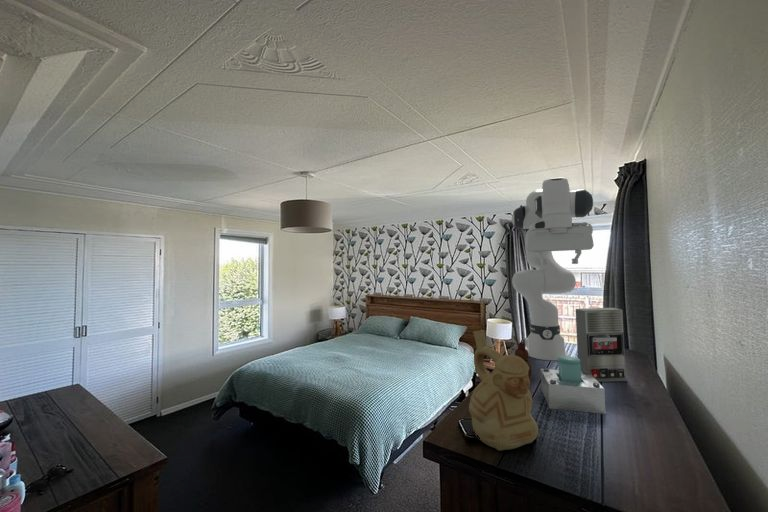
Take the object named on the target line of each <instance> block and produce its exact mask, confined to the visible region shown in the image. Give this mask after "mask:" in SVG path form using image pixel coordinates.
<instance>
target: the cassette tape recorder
mask: <svg viewBox="0 0 768 512" xmlns="http://www.w3.org/2000/svg"><path fill="white" fill-rule="evenodd" d="M575 326H576V331H575V332H576V348H577V349H576V350H577V358H578V359H580V365H581V371H582V370H585V371H588V372H589V373H590V374H591V375H592V376H593V377H594V378H595V379H596V380H597V381H598V382H599V383H602V382H603V383H605V382H607V383H609V382H627V381H629V379H628V377H627V375H626V374H627V373H626V356H625V355H626V354H625V352H626V351H625V337H624V336H625V335H624V334H625V333H624V330H625V329H624V311H623V309H621V308H616V307H596V308H595V307H593V308H592V307H589V308H587V307H586V308H575Z"/></svg>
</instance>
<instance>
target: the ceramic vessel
mask: <svg viewBox="0 0 768 512" xmlns="http://www.w3.org/2000/svg"><path fill="white" fill-rule="evenodd" d="M472 333H473V337H474V340H475V345H476V350H474V351H475V352H474V354H473V365H474V369H475V372H476V374H477V376H478V378H479V379H480V380H481V382H479V383H478V384H477V386H476V387H475V388H474V389H473V391H472V394H471V396H470V399H469V404H468V411H469V414H470V415H471V425H472V430H473V432H474V431H475V433H476V434H477V435H478V436H479V437H480V439H479V441H481V442H482V443H483V444H485V445H487V446H488V447H490V448H493V449H495V450H497V452H498V451H505V450H508V451H509V450H514V449H517V448H520V447H522V446H525V445H527V444H531V443H533V442H534V440H537V437H538V436H539V426H538V423H537V422H536V419H534V417H533V415H532V413H531V411H532V409H533V397H532V393H531V391H530V386H531V378H530V379H529V377H528V371H529V366H528V364H527V363H526V362H525V361H524V360H523V359H522V358H520V357H518V356H515V354H505V355H503V354H502V353H501V352H500V351H498V350H496V349H494V348H492V347H489V346H488V345H487V341H486V334H485V333H486V332H485V330H484V329H480V330H474V331H472ZM485 356H486V357H488V358H490V359H491V360H492V361H493V363H494V365H495V366H494V368H493V371H491V373H490V372H489V371H488V370H487V368H486V366H485V363H484V357H485ZM475 433H474V435H475V436H476V437H477V435H476V434H475Z"/></svg>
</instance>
